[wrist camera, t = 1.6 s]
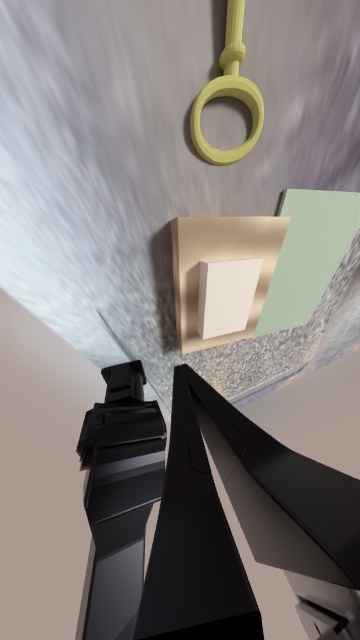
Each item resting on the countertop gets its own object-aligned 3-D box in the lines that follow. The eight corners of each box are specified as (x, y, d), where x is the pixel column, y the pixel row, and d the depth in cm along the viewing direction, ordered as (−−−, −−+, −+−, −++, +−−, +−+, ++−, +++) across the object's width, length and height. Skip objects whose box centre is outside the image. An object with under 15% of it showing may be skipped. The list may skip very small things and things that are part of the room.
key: (238, -154, 8) (269, -265, 6) (256, 151, 15) (273, 140, 13) (130, -94, 8) (130, -188, 6) (199, 183, 15) (209, 176, 13)
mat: (304, 322, 34) (307, 323, 34) (243, 338, 30) (245, 339, 29) (373, 194, 21) (377, 193, 21) (284, 189, 17) (287, 188, 17)
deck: (242, 327, 28) (253, 336, 26) (177, 342, 25) (182, 354, 22) (270, 219, 19) (291, 216, 16) (170, 220, 15) (177, 217, 13)
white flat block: (236, 322, 22) (245, 329, 21) (197, 331, 21) (202, 339, 19) (251, 256, 17) (264, 258, 16) (200, 260, 16) (208, 263, 14)
